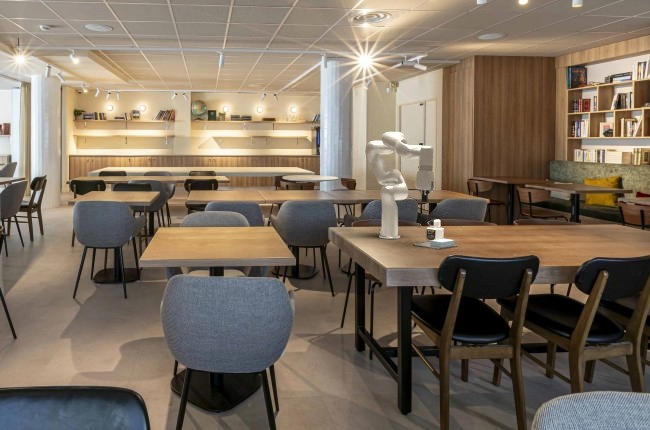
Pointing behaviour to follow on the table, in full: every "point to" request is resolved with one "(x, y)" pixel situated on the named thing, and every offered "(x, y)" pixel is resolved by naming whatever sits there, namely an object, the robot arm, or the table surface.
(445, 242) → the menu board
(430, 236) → the medicine bottle
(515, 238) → the table surface
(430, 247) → the mat
